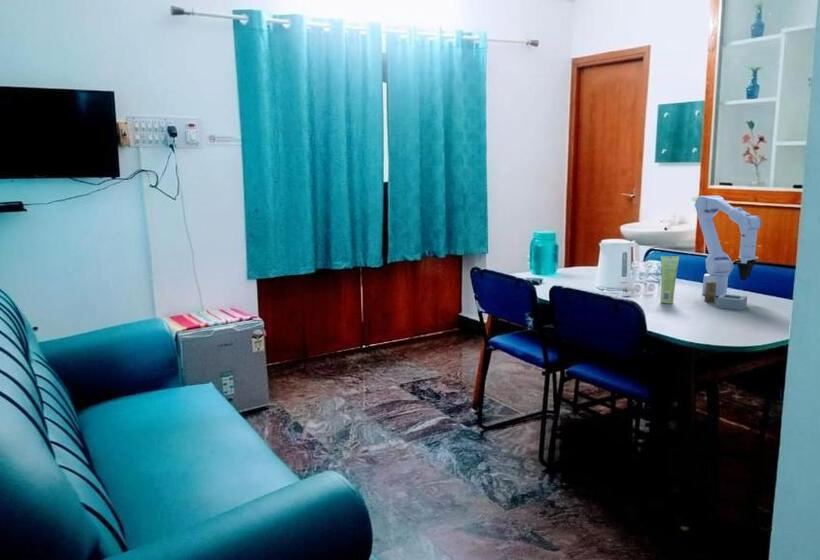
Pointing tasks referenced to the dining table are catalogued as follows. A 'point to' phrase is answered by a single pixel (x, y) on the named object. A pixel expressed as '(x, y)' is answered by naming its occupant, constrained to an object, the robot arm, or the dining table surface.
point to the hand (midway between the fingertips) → (744, 278)
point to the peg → (710, 292)
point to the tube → (668, 277)
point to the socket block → (732, 301)
